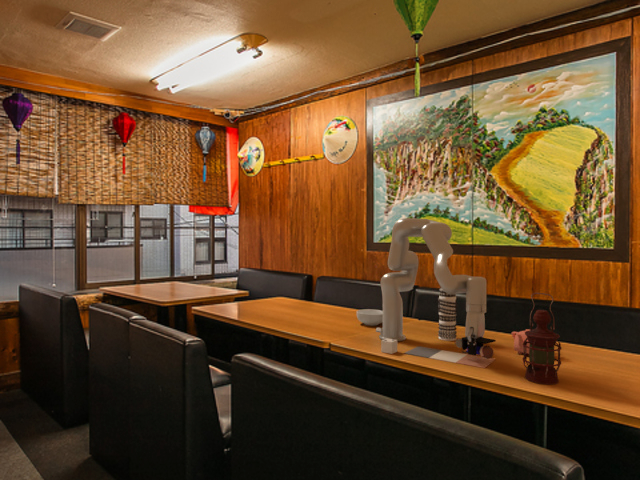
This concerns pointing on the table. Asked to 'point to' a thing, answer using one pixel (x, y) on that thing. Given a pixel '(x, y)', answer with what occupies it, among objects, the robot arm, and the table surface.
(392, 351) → the die
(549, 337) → the lantern
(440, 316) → the decorative candle
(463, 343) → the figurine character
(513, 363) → the table surface
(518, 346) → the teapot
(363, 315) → the cereal bowl
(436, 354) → the game board
